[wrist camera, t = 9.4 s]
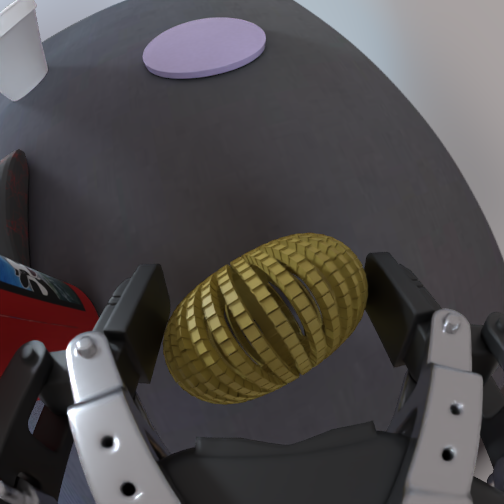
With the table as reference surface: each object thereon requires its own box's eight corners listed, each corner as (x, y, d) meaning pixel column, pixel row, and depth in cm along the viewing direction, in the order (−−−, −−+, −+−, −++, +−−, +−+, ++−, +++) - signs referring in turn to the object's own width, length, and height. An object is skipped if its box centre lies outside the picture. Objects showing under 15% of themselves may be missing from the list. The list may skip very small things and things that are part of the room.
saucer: (261, 21, 23) (261, 14, 22) (271, 75, 19) (272, 66, 19) (157, 33, 23) (155, 26, 22) (132, 91, 19) (129, 83, 19)
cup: (55, 84, 21) (9, 6, 8) (-11, 132, 20) (-61, 74, 7) (70, 45, 25) (41, -18, 12) (11, 83, 24) (-24, 32, 11)
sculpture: (306, 252, 15) (350, 171, 7) (347, 314, 14) (434, 287, 6) (178, 330, 14) (98, 320, 6) (218, 395, 13) (176, 457, 5)
